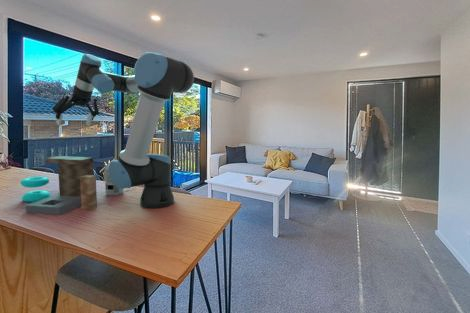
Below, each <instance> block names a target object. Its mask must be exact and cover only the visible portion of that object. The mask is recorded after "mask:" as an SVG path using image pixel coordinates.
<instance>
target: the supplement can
mask: <svg viewBox="0 0 470 313" xmlns="http://www.w3.org/2000/svg"><path fill="white" fill-rule="evenodd" d="M109 165H110V163H109V164H106V165H105V167H104V176H105V178H104V180H105V181H104V182H105V183H104V184H105V185H104V186H105V194H106V195H108V196H119V195H121V194H123V192H124V189H120V188H118V187H116V186H115V185H114V184H113V182H112V180H111V178H110V174H109Z"/></svg>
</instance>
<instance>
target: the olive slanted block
mask: <svg viewBox="0 0 470 313" xmlns="http://www.w3.org/2000/svg"><path fill="white" fill-rule="evenodd" d="M45 163H46V164H57V173H58V189H59V195H61V196H77V197H81V183H80V177H81V176H85V175H94V174H95V172H94V157H91V156H87V157H86V156H76V155H75V156H72V155H71V156H68V155H57V156H52V157H50V156H49V157H45Z"/></svg>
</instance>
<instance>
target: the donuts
mask: <svg viewBox="0 0 470 313" xmlns="http://www.w3.org/2000/svg"><path fill="white" fill-rule="evenodd" d="M49 183H50V178H48V177H47V176H32V177H31V176H29V177H26V178H24V179H22V180H21V181H20V185H21V186H22V187H24V188H29V189H30V188H41V187H44V186H46V185H47V184H49ZM48 197H51V193H50V192H49V191H48V190H41V189H40V190H31V191H28V192H26V193H24V194H23V195H22V197H21V200H22V201H23V202H25V203H34V202H36V201H39V200H42V199H45V198H48Z"/></svg>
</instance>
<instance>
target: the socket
mask: <svg viewBox="0 0 470 313" xmlns="http://www.w3.org/2000/svg"><path fill="white" fill-rule="evenodd" d="M80 206H82V204H81V197H77V196H61V195H60V194H54V195H50V197H48V198H45V199H42V200H39V201H36V202H30V203H28V204H25V213H27V214H28V213H29V214H39V215H40V214H43V215H52V216H53V215H56V216H60V215H62V214H64V213H67V212H69V211H70V210H74V209H75V208H77V207H80Z"/></svg>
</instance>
